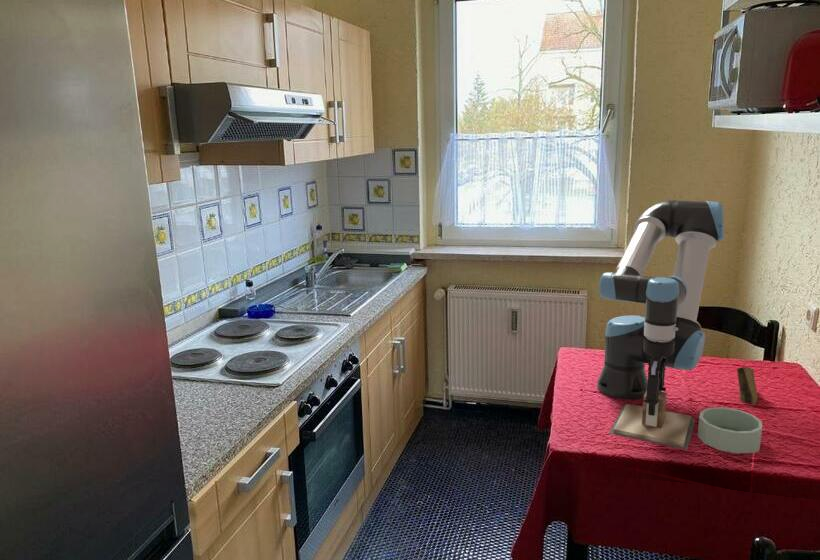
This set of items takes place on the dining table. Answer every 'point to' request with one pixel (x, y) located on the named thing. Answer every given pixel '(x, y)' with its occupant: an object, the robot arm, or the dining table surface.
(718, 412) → the bowl
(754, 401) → the rock
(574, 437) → the dining table surface
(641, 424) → the lid
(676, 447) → the mat
